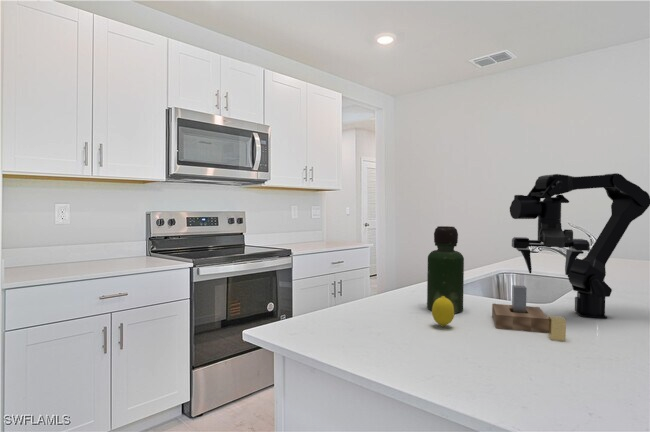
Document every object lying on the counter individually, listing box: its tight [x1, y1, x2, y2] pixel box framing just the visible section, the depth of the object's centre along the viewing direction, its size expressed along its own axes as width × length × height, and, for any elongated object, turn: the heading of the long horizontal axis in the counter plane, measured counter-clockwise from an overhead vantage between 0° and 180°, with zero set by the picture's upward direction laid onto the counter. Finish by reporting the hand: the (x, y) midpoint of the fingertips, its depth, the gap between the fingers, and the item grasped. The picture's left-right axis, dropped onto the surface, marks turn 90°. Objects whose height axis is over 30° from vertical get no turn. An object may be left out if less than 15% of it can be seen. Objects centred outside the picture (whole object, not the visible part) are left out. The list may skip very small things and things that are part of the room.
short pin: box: [547, 315, 567, 342], centre depth 96 cm, size 3×3×5 cm
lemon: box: [431, 296, 455, 328], centre depth 105 cm, size 6×6×8 cm
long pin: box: [511, 284, 527, 313], centre depth 108 cm, size 3×3×10 cm
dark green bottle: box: [426, 225, 465, 314], centre depth 122 cm, size 10×10×25 cm
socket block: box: [491, 303, 549, 334], centre depth 108 cm, size 12×12×4 cm
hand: (548, 274), depth 115 cm, fingers open, 9 cm apart
